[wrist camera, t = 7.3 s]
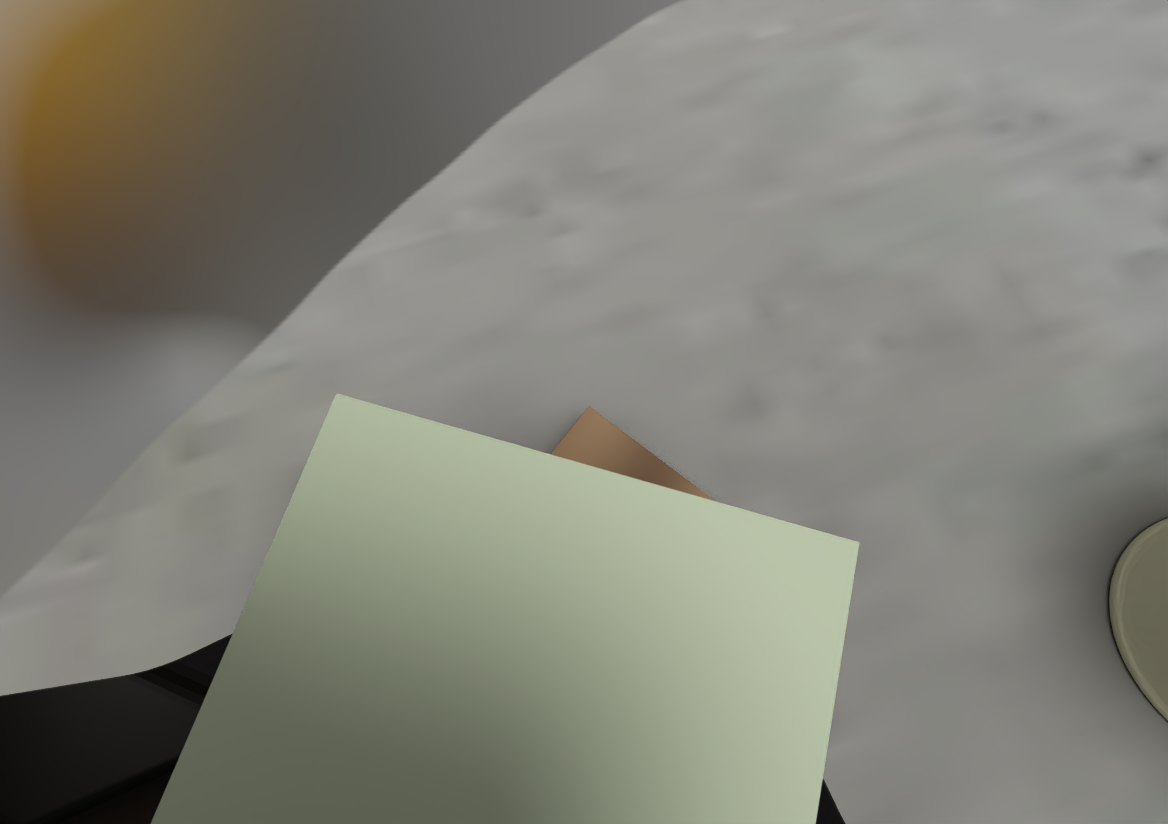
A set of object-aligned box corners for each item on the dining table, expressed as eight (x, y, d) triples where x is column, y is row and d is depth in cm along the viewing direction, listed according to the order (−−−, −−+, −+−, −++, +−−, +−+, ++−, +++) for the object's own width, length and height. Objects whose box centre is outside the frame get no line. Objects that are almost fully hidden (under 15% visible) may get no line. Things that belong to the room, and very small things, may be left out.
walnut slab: (757, 545, 19) (778, 549, 16) (629, 722, 18) (628, 762, 15) (595, 421, 21) (589, 406, 18) (473, 573, 20) (446, 582, 17)
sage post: (649, 657, 15) (726, 1405, 2) (526, 613, 16) (80, 985, 3) (681, 526, 16) (859, 543, 3) (563, 491, 16) (336, 393, 4)
